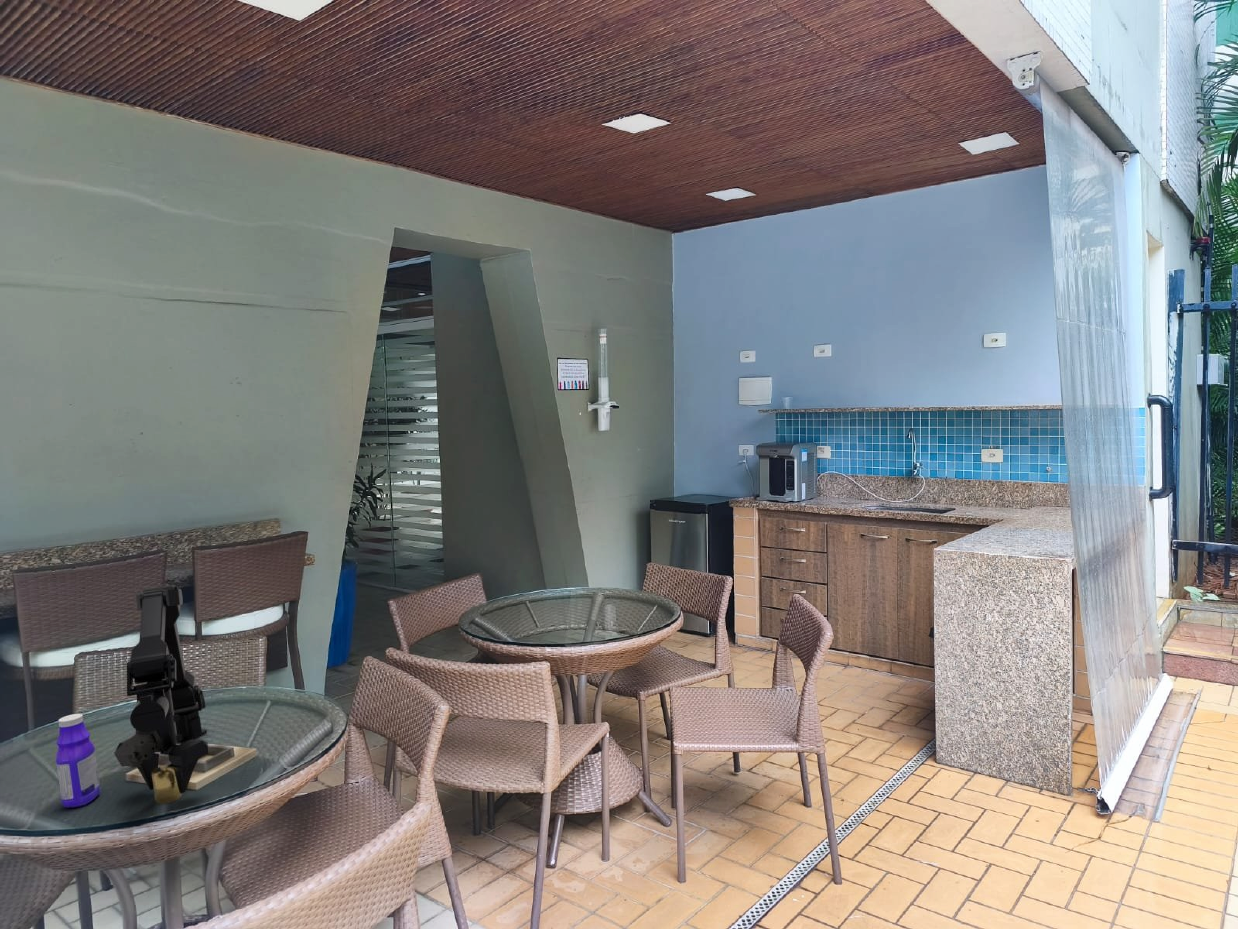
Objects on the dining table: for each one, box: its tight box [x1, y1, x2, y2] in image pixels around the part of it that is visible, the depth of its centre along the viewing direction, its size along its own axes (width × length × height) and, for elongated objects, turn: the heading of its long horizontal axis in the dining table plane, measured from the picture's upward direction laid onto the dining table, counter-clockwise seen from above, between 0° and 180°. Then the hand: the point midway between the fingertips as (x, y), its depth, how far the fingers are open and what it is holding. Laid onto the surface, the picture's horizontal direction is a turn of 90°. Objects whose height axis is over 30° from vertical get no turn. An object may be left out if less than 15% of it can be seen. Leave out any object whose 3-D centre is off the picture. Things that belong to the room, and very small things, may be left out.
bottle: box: [55, 713, 101, 809], centre depth 167 cm, size 7×6×17 cm
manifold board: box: [125, 743, 258, 791], centre depth 179 cm, size 20×16×4 cm
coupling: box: [152, 764, 183, 805], centre depth 165 cm, size 5×5×6 cm
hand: (167, 790), depth 165 cm, fingers open, 8 cm apart
